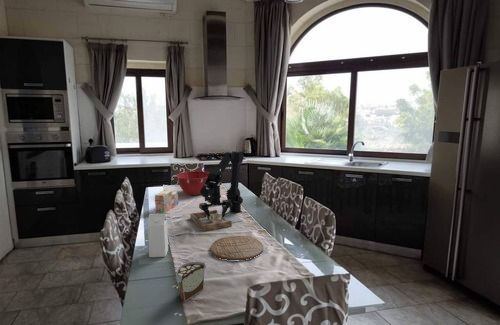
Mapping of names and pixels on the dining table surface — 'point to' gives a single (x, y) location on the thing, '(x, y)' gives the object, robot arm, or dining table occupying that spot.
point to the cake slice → (190, 279)
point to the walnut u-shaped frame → (209, 226)
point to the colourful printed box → (165, 201)
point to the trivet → (237, 248)
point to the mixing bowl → (192, 181)
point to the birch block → (215, 218)
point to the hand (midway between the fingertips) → (215, 218)
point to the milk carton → (157, 235)
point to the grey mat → (231, 218)
